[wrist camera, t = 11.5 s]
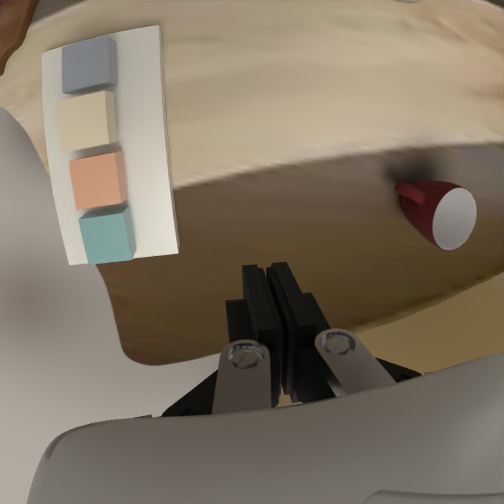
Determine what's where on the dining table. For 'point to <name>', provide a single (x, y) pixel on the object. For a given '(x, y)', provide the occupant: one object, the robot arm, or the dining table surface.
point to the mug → (439, 211)
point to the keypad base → (120, 145)
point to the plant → (14, 26)
